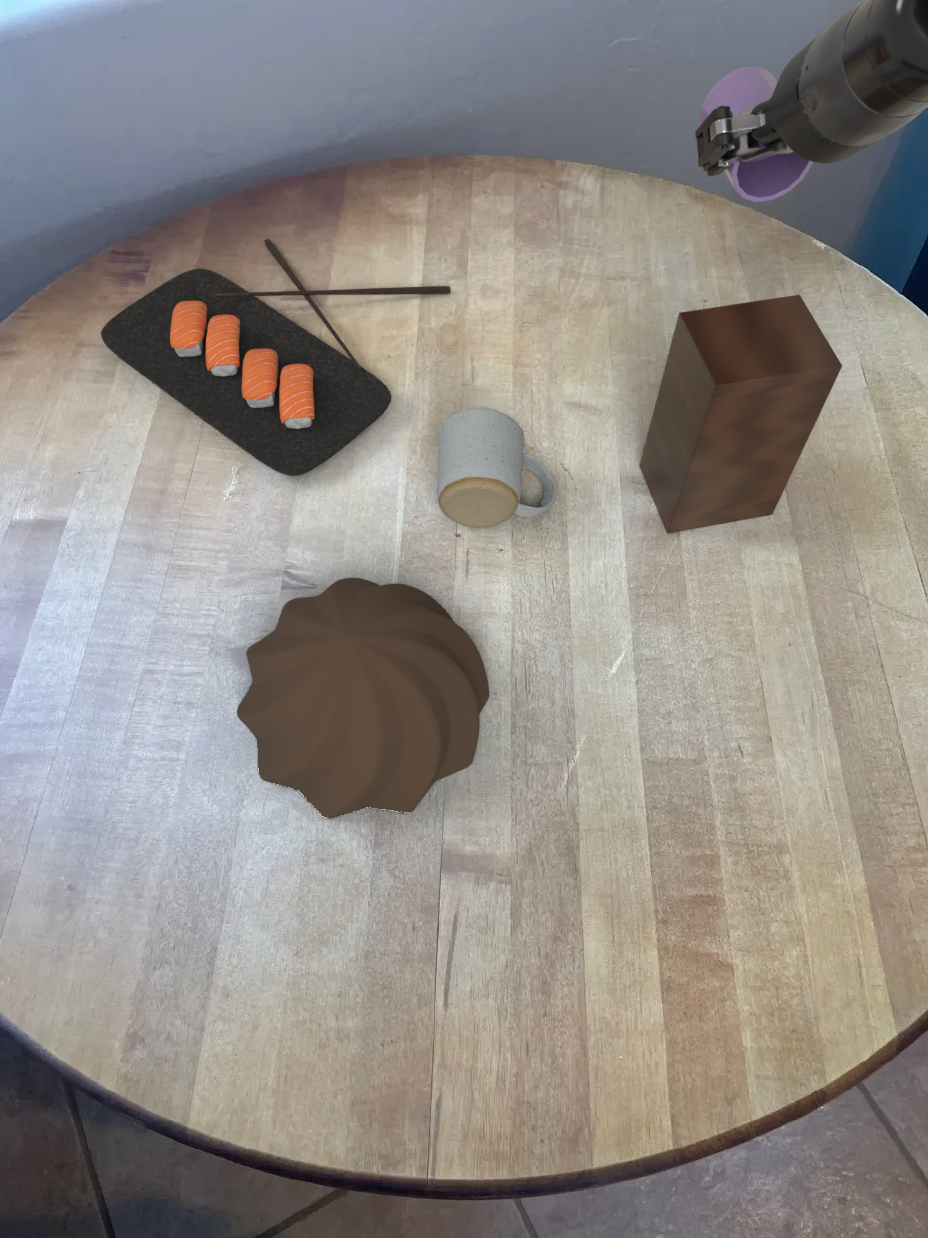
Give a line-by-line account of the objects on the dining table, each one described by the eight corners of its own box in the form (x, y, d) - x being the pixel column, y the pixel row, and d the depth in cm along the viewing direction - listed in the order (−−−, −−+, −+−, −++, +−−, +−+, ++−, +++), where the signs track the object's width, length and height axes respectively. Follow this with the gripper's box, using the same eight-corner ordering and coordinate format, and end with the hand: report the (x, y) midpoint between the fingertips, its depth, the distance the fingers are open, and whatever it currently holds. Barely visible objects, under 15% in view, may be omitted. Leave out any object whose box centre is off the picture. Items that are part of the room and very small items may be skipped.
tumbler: (786, 61, 75) (826, 115, 70) (768, 140, 80) (803, 195, 76) (707, 71, 74) (742, 126, 70) (693, 150, 80) (725, 206, 75)
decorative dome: (199, 784, 72) (166, 727, 64) (293, 573, 82) (275, 500, 74) (447, 852, 70) (447, 803, 61) (512, 627, 80) (520, 557, 71)
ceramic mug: (435, 532, 85) (436, 476, 78) (438, 461, 89) (439, 402, 82) (555, 536, 85) (566, 480, 78) (552, 465, 89) (562, 406, 83)
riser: (740, 448, 90) (799, 293, 75) (772, 515, 86) (843, 365, 71) (638, 465, 89) (678, 311, 74) (667, 534, 85) (715, 386, 70)
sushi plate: (93, 347, 96) (80, 316, 93) (308, 205, 108) (303, 174, 105) (296, 498, 87) (290, 470, 83) (507, 324, 99) (509, 294, 95)
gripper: (966, 0, 60) (835, 94, 76) (743, 28, 59) (659, 117, 75) (971, 129, 61) (842, 194, 78) (754, 159, 60) (670, 218, 76)
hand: (753, 156), depth 76 cm, fingers closed on tumbler, 6 cm apart
